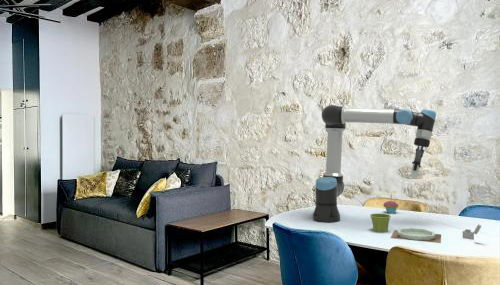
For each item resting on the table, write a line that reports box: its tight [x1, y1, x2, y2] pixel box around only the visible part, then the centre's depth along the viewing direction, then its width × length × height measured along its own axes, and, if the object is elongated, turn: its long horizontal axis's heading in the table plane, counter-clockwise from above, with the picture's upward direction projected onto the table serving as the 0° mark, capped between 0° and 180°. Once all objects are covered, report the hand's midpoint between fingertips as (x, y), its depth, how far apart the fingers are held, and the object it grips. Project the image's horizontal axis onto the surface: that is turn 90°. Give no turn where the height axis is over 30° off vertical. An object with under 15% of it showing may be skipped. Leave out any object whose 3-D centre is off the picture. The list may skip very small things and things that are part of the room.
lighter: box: [462, 224, 482, 240], centre depth 167 cm, size 7×2×8 cm, turn 50°
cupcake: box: [383, 194, 399, 214], centre depth 234 cm, size 9×8×12 cm
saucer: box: [397, 227, 436, 242], centre depth 172 cm, size 15×15×2 cm
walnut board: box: [390, 229, 442, 244], centre depth 172 cm, size 20×16×2 cm
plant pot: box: [369, 213, 392, 233], centre depth 184 cm, size 9×9×9 cm
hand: (413, 177), depth 204 cm, fingers open, 13 cm apart
